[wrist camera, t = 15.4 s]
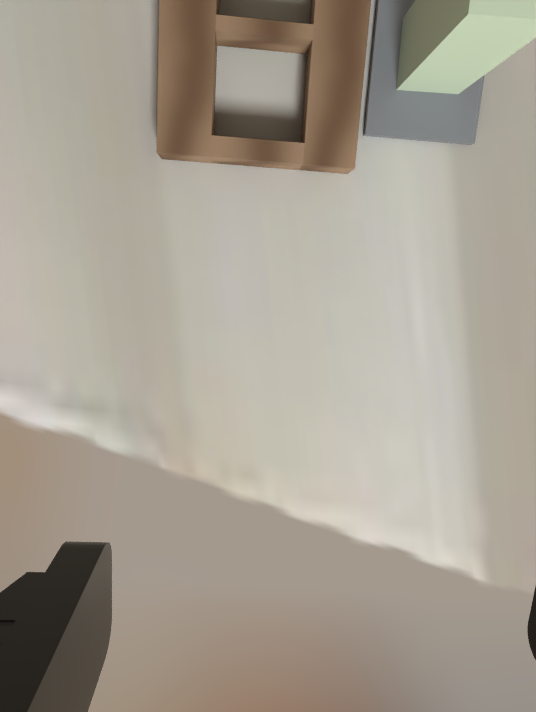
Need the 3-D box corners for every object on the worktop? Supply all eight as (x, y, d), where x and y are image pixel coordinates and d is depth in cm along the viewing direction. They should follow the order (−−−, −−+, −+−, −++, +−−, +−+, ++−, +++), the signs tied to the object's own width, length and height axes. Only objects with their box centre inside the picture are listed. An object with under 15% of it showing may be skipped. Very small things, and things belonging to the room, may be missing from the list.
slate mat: (363, 135, 38) (365, 133, 38) (380, -35, 36) (382, -40, 35) (471, 144, 39) (474, 143, 38) (495, -22, 37) (499, -27, 36)
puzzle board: (162, 158, 38) (156, 152, 35) (167, -107, 34) (161, -135, 32) (347, 173, 39) (354, 168, 36) (371, -83, 35) (381, -108, 33)
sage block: (396, 89, 37) (468, 13, 25) (402, 18, 36) (481, -96, 24) (458, 94, 38) (557, 20, 26) (466, 23, 36) (573, -87, 25)
